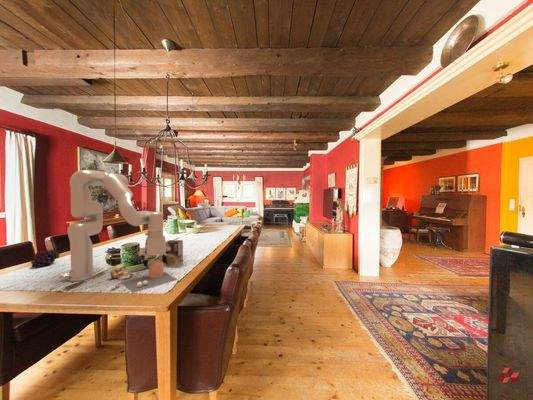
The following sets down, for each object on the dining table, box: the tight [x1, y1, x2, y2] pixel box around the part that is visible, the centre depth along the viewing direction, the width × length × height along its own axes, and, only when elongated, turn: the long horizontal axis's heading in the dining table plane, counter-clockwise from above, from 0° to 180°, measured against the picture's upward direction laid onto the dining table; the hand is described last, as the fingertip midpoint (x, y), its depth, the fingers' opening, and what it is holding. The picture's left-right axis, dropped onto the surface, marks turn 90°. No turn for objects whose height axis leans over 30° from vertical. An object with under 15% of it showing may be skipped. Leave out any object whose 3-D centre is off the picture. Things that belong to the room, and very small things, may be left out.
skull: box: [106, 264, 134, 282], centre depth 124 cm, size 12×10×10 cm
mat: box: [120, 271, 178, 294], centre depth 120 cm, size 22×18×1 cm
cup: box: [148, 259, 165, 279], centre depth 126 cm, size 7×7×8 cm
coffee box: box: [165, 239, 184, 268], centre depth 146 cm, size 9×6×16 cm
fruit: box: [30, 249, 60, 268], centre depth 145 cm, size 10×11×15 cm
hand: (155, 264), depth 126 cm, fingers open, 9 cm apart
